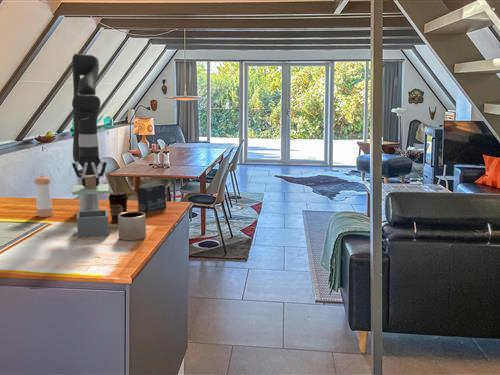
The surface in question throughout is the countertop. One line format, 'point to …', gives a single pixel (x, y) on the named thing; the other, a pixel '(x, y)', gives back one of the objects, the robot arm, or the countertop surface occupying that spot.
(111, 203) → the coffee cup
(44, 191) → the pepper shaker
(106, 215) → the bin
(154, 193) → the small box
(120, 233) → the planter
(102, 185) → the lid
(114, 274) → the countertop surface
